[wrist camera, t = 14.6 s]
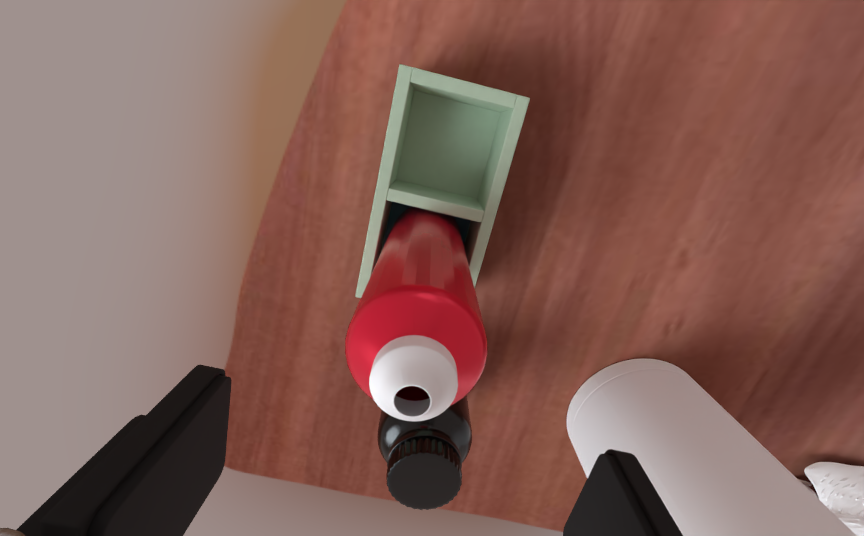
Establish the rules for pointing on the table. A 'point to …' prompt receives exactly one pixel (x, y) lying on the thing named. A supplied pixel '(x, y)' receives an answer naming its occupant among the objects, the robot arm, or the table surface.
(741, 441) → the cylinder
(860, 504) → the white dragon
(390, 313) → the bottle
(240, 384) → the table surface
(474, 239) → the box
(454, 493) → the supplement bottle
